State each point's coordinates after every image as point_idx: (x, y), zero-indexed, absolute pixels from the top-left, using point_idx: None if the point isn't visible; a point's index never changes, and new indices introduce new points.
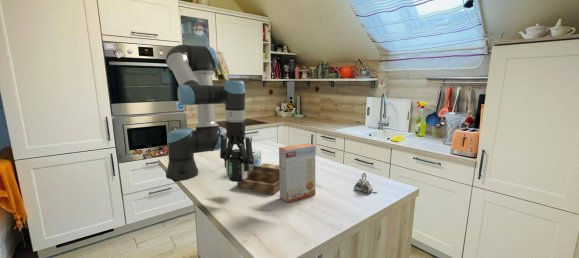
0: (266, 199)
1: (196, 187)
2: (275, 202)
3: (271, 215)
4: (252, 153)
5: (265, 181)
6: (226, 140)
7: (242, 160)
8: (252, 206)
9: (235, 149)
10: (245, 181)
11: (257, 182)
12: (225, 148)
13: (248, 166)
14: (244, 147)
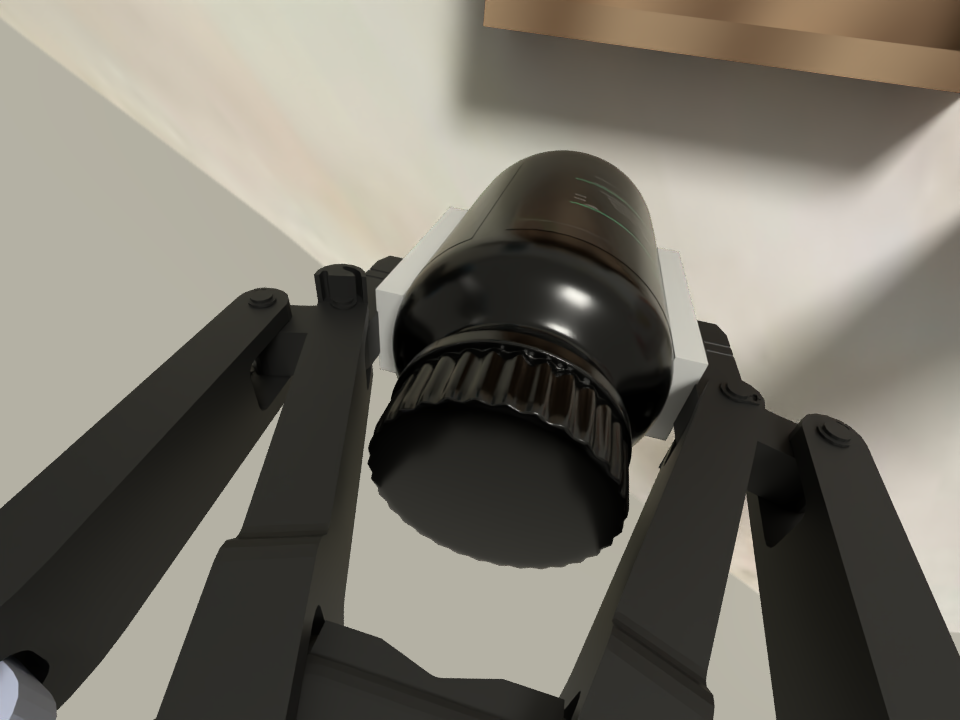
0: (858, 226)
1: (207, 127)
2: (950, 268)
3: (886, 436)
4: (912, 557)
5: None
6: (39, 594)
7: (643, 435)
8: (740, 350)
9: (415, 438)
10: (598, 41)
11: (776, 59)
12: (207, 425)
13: (731, 363)
14: (702, 640)
